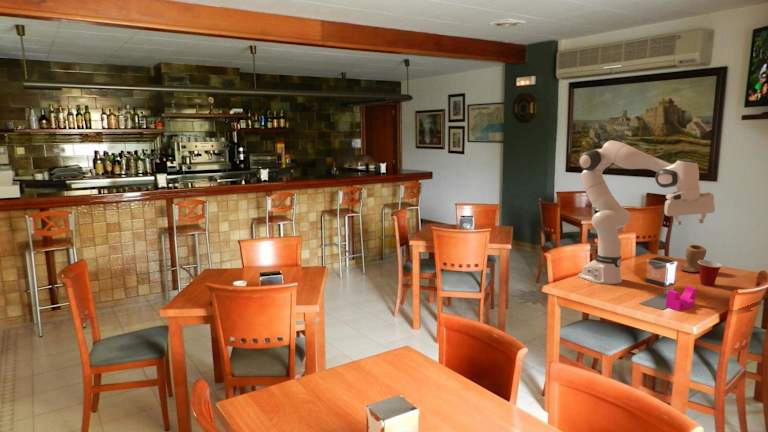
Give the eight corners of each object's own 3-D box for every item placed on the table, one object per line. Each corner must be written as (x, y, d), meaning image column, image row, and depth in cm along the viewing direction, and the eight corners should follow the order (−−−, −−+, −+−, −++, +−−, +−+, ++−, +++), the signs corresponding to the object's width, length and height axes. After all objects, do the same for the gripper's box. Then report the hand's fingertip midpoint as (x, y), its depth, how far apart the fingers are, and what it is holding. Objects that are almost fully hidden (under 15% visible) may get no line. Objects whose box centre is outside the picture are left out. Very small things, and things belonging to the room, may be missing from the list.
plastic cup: (715, 289, 255) (718, 266, 253) (692, 284, 263) (694, 262, 261) (723, 285, 261) (725, 262, 259) (700, 280, 270) (702, 258, 268)
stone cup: (698, 275, 279) (700, 249, 277) (676, 270, 289) (678, 245, 287) (711, 270, 288) (713, 245, 285) (689, 266, 297) (691, 241, 295)
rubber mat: (639, 303, 235) (639, 303, 235) (663, 293, 249) (663, 292, 249) (662, 310, 227) (662, 309, 227) (685, 298, 241) (685, 298, 241)
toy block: (678, 310, 225) (680, 295, 224) (665, 306, 231) (667, 290, 229) (699, 305, 232) (701, 290, 230) (686, 301, 237) (688, 286, 236)
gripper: (710, 191, 231) (711, 221, 233) (662, 195, 236) (663, 224, 237) (716, 192, 225) (718, 223, 227) (667, 197, 230) (668, 226, 231)
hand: (689, 224), depth 232 cm, fingers open, 8 cm apart
